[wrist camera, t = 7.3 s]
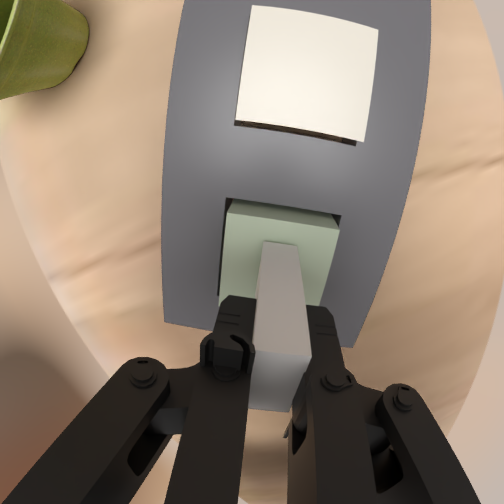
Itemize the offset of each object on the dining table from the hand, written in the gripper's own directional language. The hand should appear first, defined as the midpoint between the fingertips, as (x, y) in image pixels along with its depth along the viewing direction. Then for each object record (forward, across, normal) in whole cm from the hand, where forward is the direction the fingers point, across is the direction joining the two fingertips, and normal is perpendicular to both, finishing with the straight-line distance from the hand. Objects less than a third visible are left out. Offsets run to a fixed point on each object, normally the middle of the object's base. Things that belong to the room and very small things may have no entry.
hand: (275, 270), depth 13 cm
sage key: (+3, 0, 0) cm, 3 cm away
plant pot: (+5, +16, -12) cm, 21 cm away
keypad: (+5, 0, -9) cm, 10 cm away
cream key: (+3, 0, -9) cm, 9 cm away
